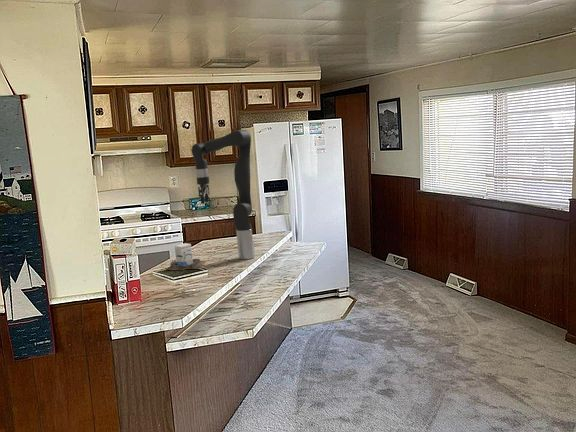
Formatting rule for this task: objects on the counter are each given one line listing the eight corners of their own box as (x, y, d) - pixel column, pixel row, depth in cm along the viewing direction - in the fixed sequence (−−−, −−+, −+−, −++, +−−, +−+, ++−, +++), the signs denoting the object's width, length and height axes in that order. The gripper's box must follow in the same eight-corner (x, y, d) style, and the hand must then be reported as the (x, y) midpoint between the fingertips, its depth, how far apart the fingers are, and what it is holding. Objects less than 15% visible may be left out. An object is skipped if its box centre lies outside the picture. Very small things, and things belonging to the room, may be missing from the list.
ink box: (182, 266, 299) (180, 246, 297) (176, 266, 302) (174, 245, 300) (193, 263, 306) (191, 243, 304) (187, 262, 309) (185, 242, 307)
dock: (205, 262, 311) (205, 256, 311) (196, 269, 294) (195, 263, 293) (176, 263, 314) (176, 257, 313) (165, 271, 296) (164, 264, 296)
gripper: (205, 176, 316) (207, 203, 318) (211, 175, 330) (214, 200, 332) (192, 177, 317) (195, 204, 319) (200, 175, 331) (202, 201, 333)
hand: (205, 202), depth 326 cm, fingers open, 8 cm apart
